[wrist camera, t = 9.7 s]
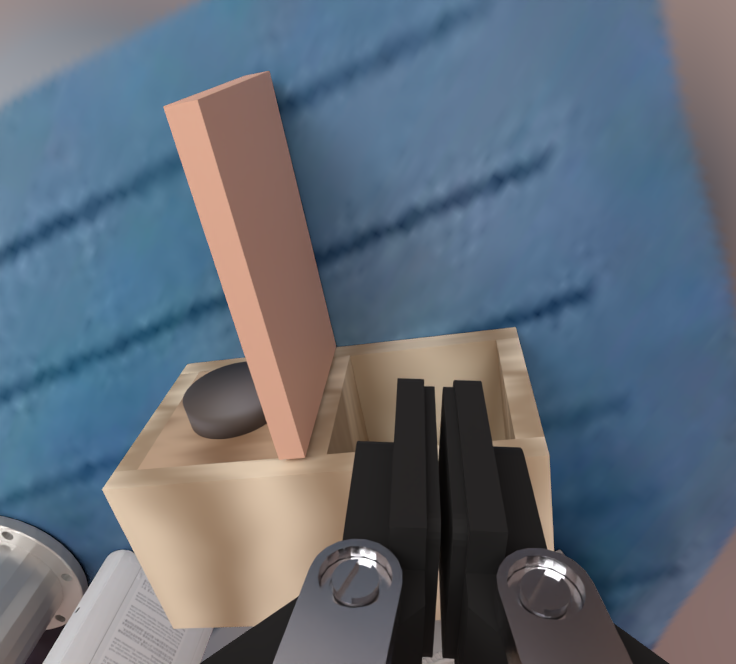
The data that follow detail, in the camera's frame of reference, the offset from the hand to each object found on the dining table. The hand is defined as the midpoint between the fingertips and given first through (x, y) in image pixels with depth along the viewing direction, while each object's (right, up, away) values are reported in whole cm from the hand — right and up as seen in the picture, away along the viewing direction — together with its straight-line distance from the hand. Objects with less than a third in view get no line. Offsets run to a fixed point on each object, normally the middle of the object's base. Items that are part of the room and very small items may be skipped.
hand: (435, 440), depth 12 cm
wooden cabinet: (-2, -3, +26) cm, 26 cm away
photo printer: (-18, -18, +36) cm, 44 cm away
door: (-6, +8, +19) cm, 22 cm away
